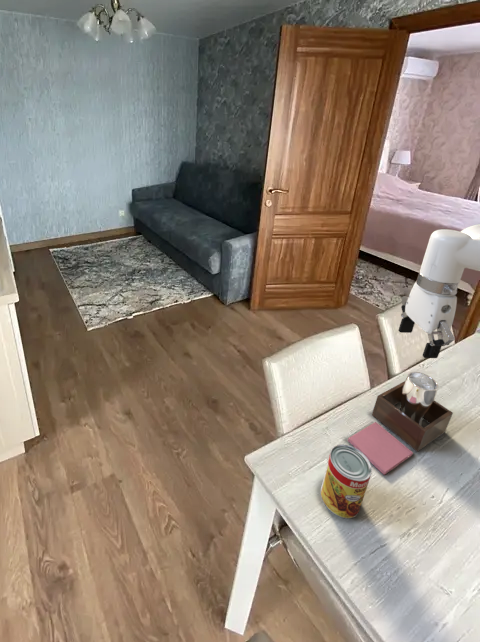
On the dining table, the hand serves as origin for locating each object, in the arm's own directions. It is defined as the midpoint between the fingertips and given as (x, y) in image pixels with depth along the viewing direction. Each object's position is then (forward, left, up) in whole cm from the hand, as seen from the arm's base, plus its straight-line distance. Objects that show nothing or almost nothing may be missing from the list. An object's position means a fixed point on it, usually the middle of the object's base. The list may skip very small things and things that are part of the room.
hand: (416, 344), depth 85 cm
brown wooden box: (-4, -1, -26) cm, 26 cm away
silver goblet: (-4, -1, -26) cm, 26 cm away
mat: (+3, +11, -26) cm, 28 cm away
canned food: (+11, +29, -26) cm, 41 cm away
